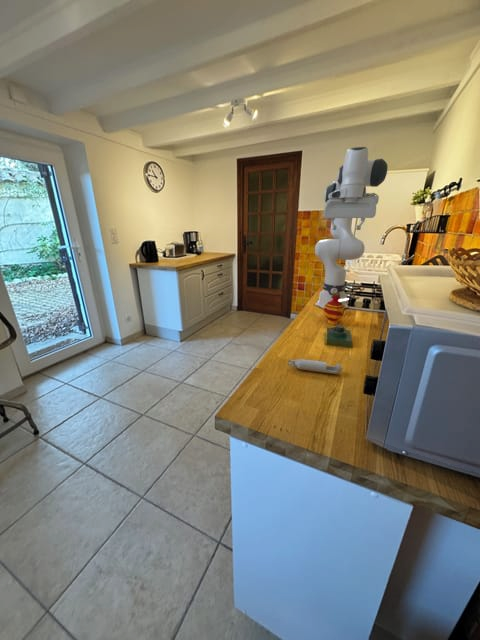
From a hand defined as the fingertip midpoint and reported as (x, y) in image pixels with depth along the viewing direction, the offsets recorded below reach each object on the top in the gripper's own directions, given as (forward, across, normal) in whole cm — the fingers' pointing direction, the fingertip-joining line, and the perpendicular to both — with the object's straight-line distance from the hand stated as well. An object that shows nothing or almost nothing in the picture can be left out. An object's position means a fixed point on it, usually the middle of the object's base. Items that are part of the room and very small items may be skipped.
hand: (346, 229), depth 108 cm
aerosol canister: (+44, +7, +51) cm, 67 cm away
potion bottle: (+45, 0, -7) cm, 46 cm away
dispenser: (+45, -2, +14) cm, 47 cm away
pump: (+41, -2, +14) cm, 43 cm away
